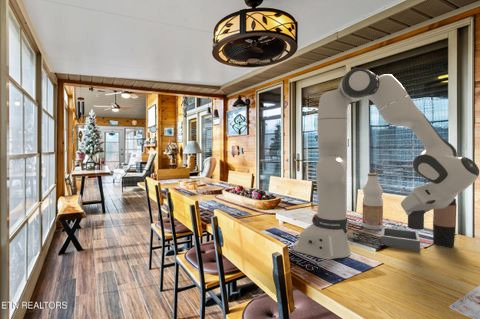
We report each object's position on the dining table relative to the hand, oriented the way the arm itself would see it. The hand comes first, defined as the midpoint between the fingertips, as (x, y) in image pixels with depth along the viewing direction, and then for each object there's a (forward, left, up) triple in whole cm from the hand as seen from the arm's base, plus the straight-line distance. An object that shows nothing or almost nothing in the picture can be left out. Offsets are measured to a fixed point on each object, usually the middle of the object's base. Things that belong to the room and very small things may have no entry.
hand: (414, 212), depth 112 cm
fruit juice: (-17, +24, -15) cm, 33 cm away
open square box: (-5, +5, -15) cm, 16 cm away
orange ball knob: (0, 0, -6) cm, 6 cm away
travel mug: (+11, +11, -15) cm, 22 cm away
